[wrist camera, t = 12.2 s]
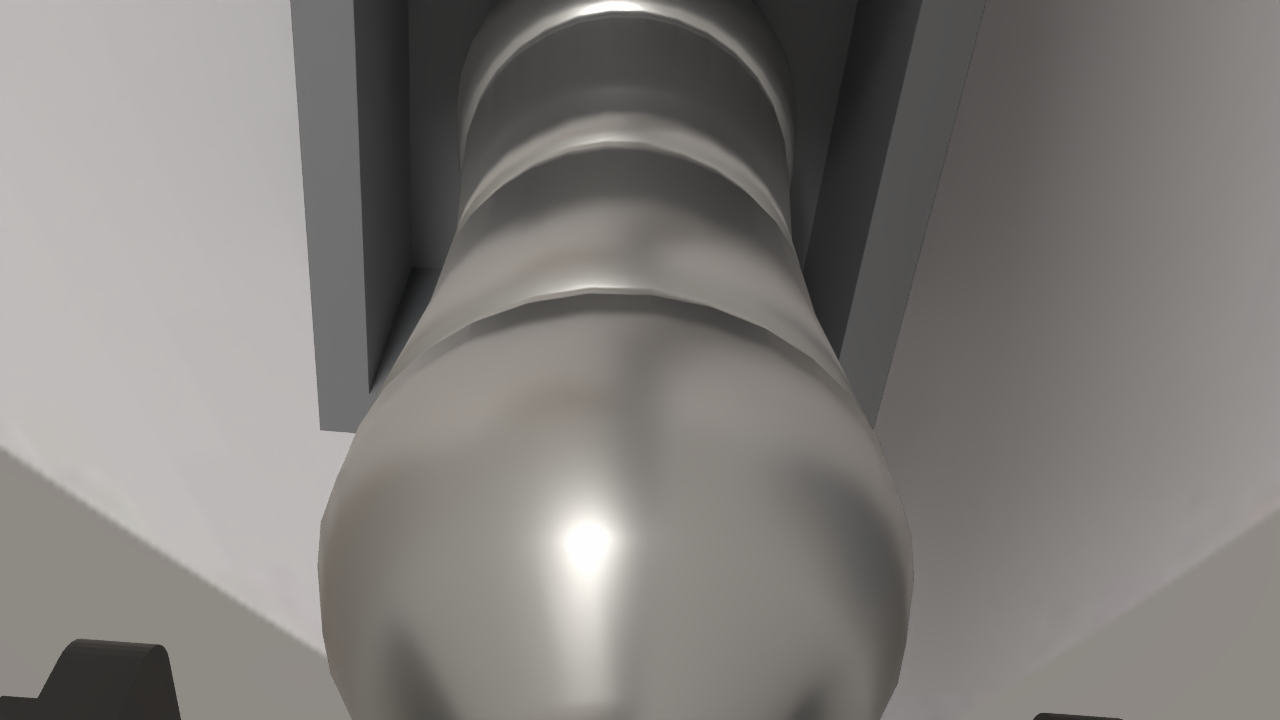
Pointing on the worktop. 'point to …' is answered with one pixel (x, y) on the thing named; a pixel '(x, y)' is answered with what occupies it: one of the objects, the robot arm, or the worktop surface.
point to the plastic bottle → (618, 408)
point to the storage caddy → (431, 182)
